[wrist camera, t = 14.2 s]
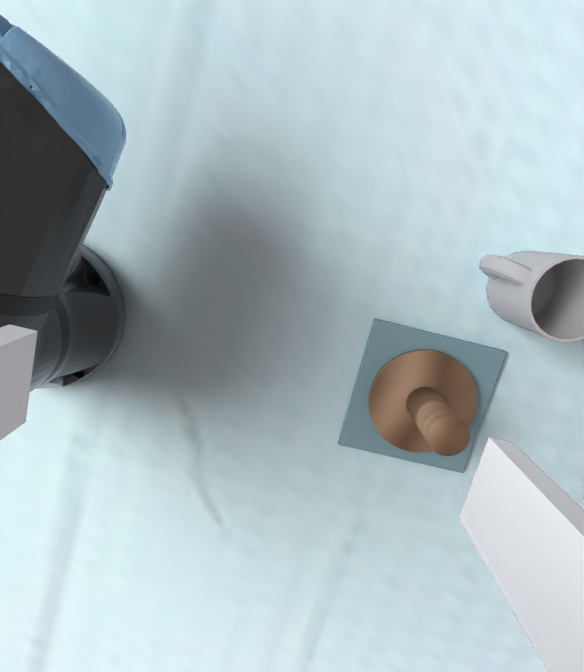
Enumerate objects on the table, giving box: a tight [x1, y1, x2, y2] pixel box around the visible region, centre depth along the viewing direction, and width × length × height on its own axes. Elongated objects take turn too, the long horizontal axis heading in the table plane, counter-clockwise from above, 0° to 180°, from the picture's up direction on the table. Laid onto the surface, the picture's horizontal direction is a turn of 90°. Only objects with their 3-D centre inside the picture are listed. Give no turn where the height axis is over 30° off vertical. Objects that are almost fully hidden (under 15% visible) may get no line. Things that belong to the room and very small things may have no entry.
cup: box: [479, 251, 584, 342], centre depth 43 cm, size 7×10×9 cm
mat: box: [338, 319, 507, 473], centre depth 50 cm, size 14×14×1 cm
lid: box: [368, 349, 477, 456], centre depth 45 cm, size 11×11×9 cm
